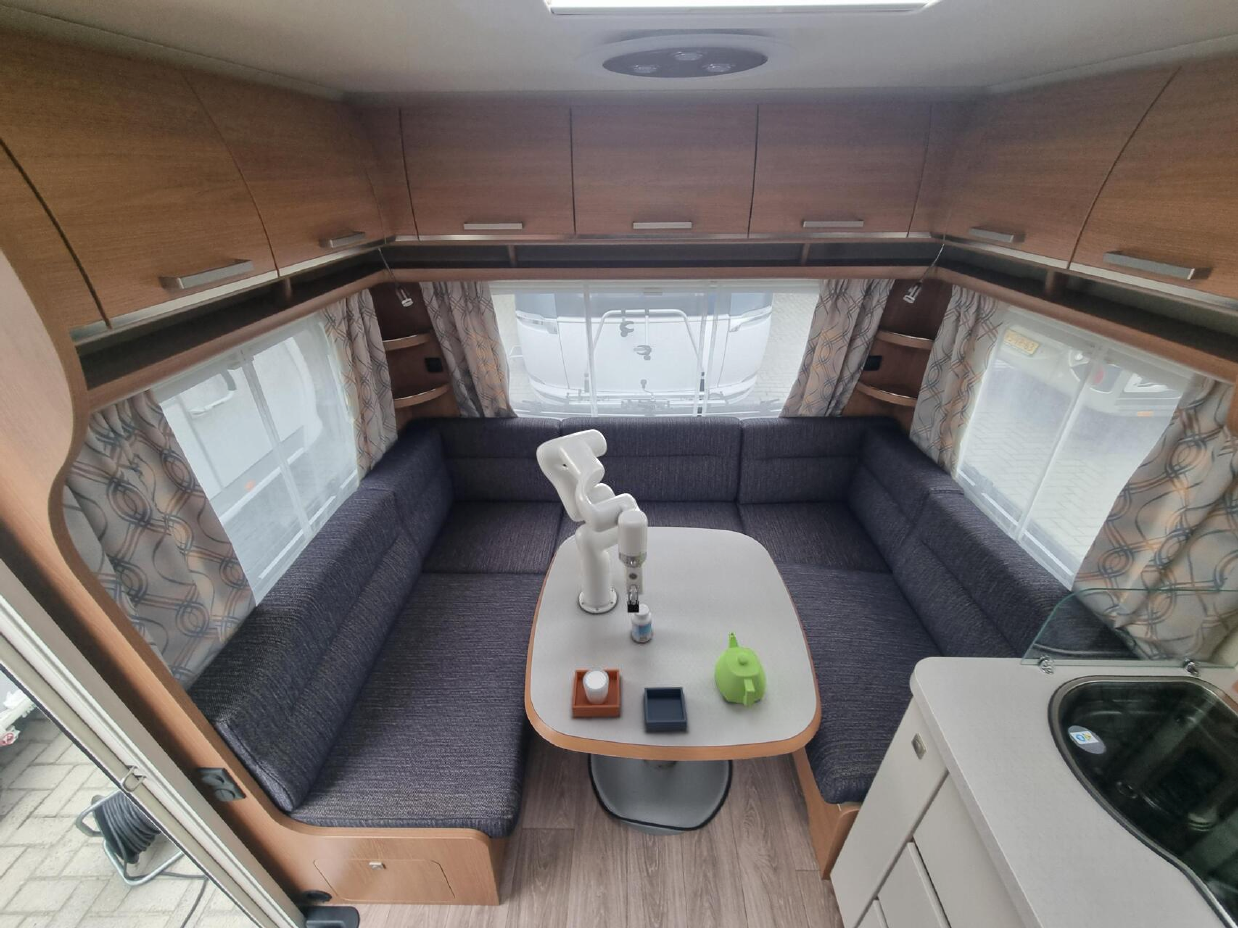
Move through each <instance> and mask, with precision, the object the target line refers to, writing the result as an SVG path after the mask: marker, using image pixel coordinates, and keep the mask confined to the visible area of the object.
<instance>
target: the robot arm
mask: <svg viewBox="0 0 1238 928" xmlns="http://www.w3.org/2000/svg"><path fill="white" fill-rule="evenodd" d="M607 446H608V445H607V441H606V439H605V437H604V435H603V434H602V433H601V432H600V431H599V430H596V429H589V430H583V431H578V432H574V433H570V434H568V435H564V436H560V437H557V438H553V439H550V440H547V441H545V442H542V444H540V445H539V446H538V447H537V449H536V459H537V462H538V463H537V464H539V468H540V470H541V471H542V473H543V475H545V476H546V478H547V479H548V480H549V482H550V483H551V484H552V485H553V487H554V488H555V489H556V492H557V494H558V496H559V498H560V500H561V502H562V505H563V507H564V509H565V511H566V513H567V515H568V516H569V518H570V519H571V520H572V521H573V522H577V523H579V522H583V521H584V522H585V523H584V524H581V525H580V526H579V527H578V528H577V529H576V530H575V533H574V539H575V543H576V546H577V549H578V555H579V562H580V571H581V572H580V573H581V582H582V590H581V592H580V593H579V595H578V602H579V605H580V607H581V608H582V609H583V610H584V611H586V612H588V613H591V614H602V613H606V612H608V611H610V610H611V609H613V607H614V606H615V605H616V603H617V600H618V599H617V592H616V590H615V589H614V588H613V586H612V567H611V563H612V562H611V557H610V554H609V553H608V552H607V549H609V548H611V547H614V546H616V545H618V548H617V549H618V550H617V551H618V560H619V562H620V563H621V564H622V565H623V569H622V570H623V580H624V581H623V583H624V590H625V594H626V595H627V601H626V603H627V605H626V607H627V609H626V610H627V611H626V612H627V613H628V614H632V613H639V604H640V600H639V595H644V563H645V562H646V561H647V558H648V517H647V515H646V513H645V512H643V511H642V510H641V509H640V507H639V505H638V503H637V500H636V499H635V497H633V496H632V495H631V494H630V493H622V494H619V495H615V493H614V491H613V489H612V488H611V487H610V486H609V485H607V484H605V483H600V482H601V481H602V480H603V478H604V475H605V473H606V472H605V467H604V465H603V464H602V463H601V461H600V460H599V459H598V457H601V456H604V455H605V454H606V452H607V450H608V447H607ZM564 465H565V466H564Z"/></svg>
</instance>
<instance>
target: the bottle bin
mask: <svg viewBox="0 0 1238 928" xmlns="http://www.w3.org/2000/svg"><path fill="white" fill-rule="evenodd" d="M643 689H644V690H643V691H644V693H643V694H644V717H645V732H687V726H688V725H687V724H688V721H687V720H688V719H687V712H686V705H685V704H686V703H685V695H684V688H683V686H667V687H666V686H661V687H660V686H658V687H657V686H656V687H655V686H654V687H644V688H643Z"/></svg>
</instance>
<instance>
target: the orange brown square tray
mask: <svg viewBox="0 0 1238 928" xmlns="http://www.w3.org/2000/svg"><path fill="white" fill-rule="evenodd" d="M589 670H590V669H575V671H574V683H573V695H572V706H571V710H572V717H573V718H581V717H582V718H583V717H584V718H586V717H587V718H588V717H590V718H591V717H620V716H621V715H620V708H621V707H620V669H619V668H615V669H614V668H613V669H610V668H609V669H603V670H604V671H605V672H606V673H607V675H608V677H609V682H608V694H607V699H606V701H605V702H604V703H603V704H601V705H593V704H591V703H590V702H589V701H588V699H587V696H586V692H585V688H584V684H583V678H584V676H585V674H586V673H587V672H588V671H589Z"/></svg>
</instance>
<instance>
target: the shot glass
mask: <svg viewBox="0 0 1238 928" xmlns="http://www.w3.org/2000/svg"><path fill="white" fill-rule="evenodd" d="M588 670H589V671H588V672H587V673H586V674H585V676H584V678H583V684H584V688H585V692H586V696H587V699H588V701H589V702H590V703H591V704H593V705H601V704H603V703H604V702H605V701H606V699H607V694H608V682H609V677H608V675H607V673H606V672H605V671H604V670H605V669H601V668H593V669H588Z"/></svg>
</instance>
